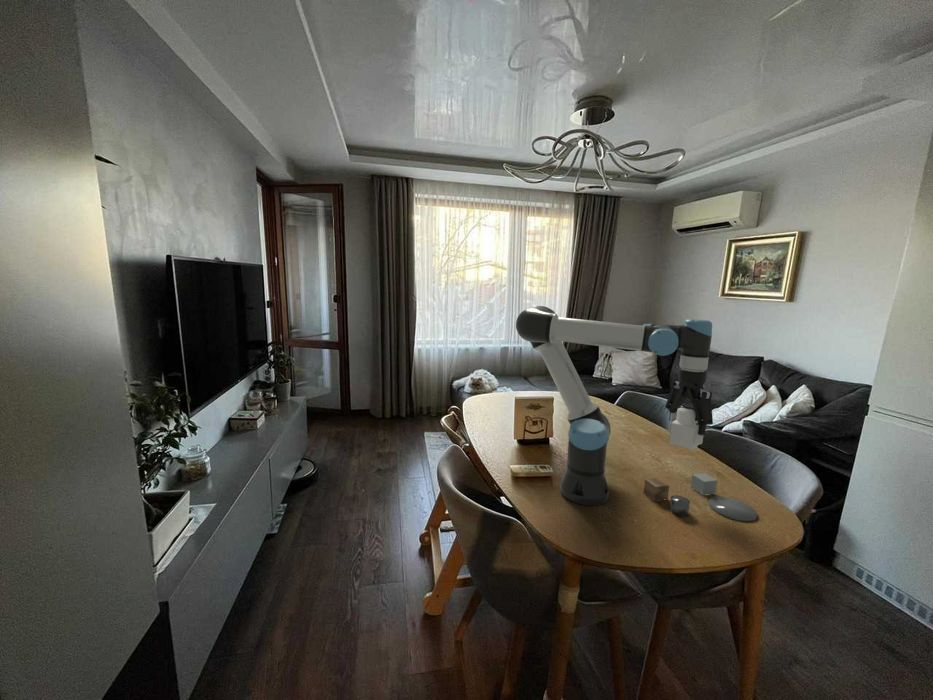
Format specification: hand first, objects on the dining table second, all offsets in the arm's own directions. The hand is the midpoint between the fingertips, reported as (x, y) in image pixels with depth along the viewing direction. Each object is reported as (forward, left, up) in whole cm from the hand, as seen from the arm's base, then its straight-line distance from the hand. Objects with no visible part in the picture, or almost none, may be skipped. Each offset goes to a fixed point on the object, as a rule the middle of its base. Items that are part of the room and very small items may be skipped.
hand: (684, 437), depth 122 cm
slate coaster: (+9, -11, -19) cm, 24 cm away
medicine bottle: (0, 0, -2) cm, 2 cm away
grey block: (+9, 0, -19) cm, 21 cm away
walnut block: (-9, 0, -19) cm, 21 cm away
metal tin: (-8, -9, -19) cm, 23 cm away
